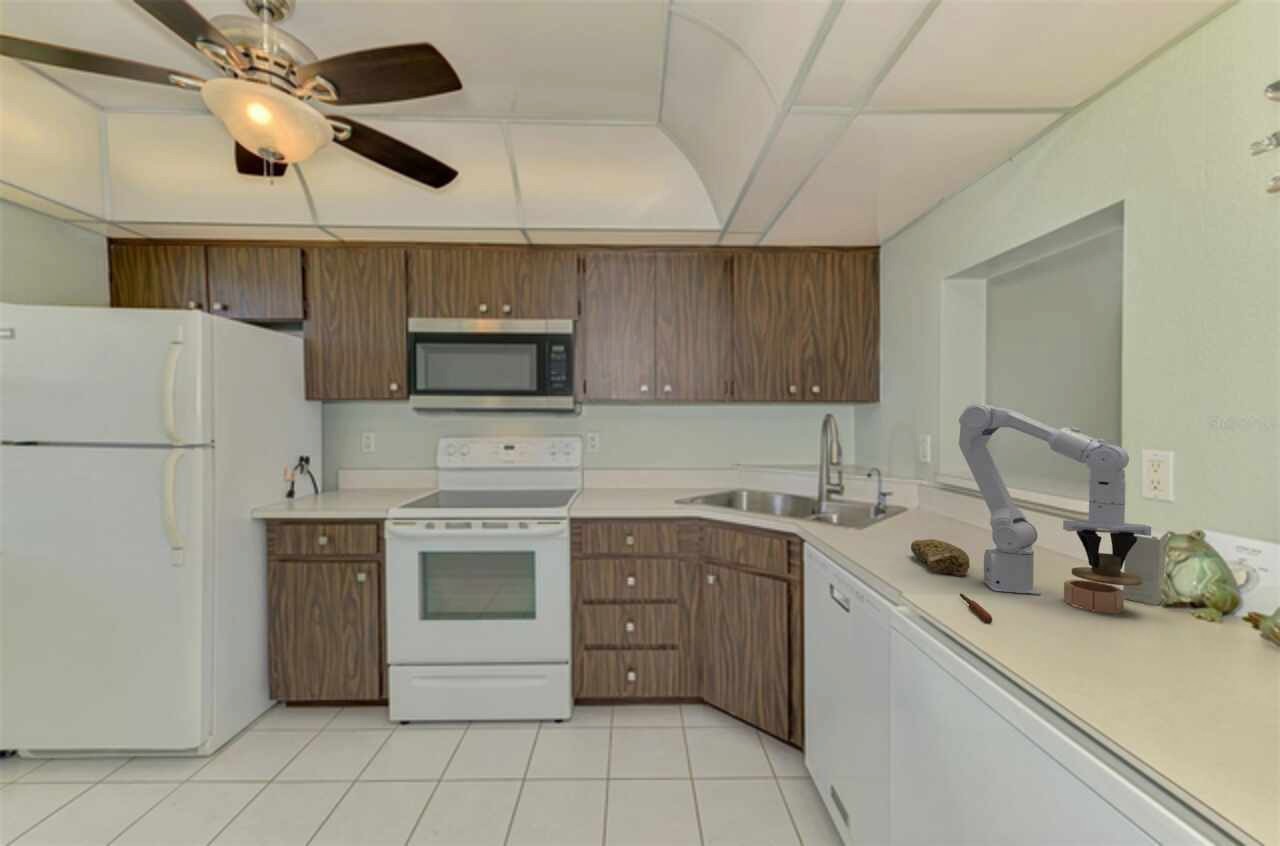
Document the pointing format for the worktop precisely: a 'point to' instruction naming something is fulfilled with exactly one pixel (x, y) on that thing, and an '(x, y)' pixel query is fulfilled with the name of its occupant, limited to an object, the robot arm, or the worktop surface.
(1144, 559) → the skincare box
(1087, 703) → the worktop surface
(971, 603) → the red handled screwdriver
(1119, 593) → the bowl
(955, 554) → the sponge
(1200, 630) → the worktop surface
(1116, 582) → the lid
